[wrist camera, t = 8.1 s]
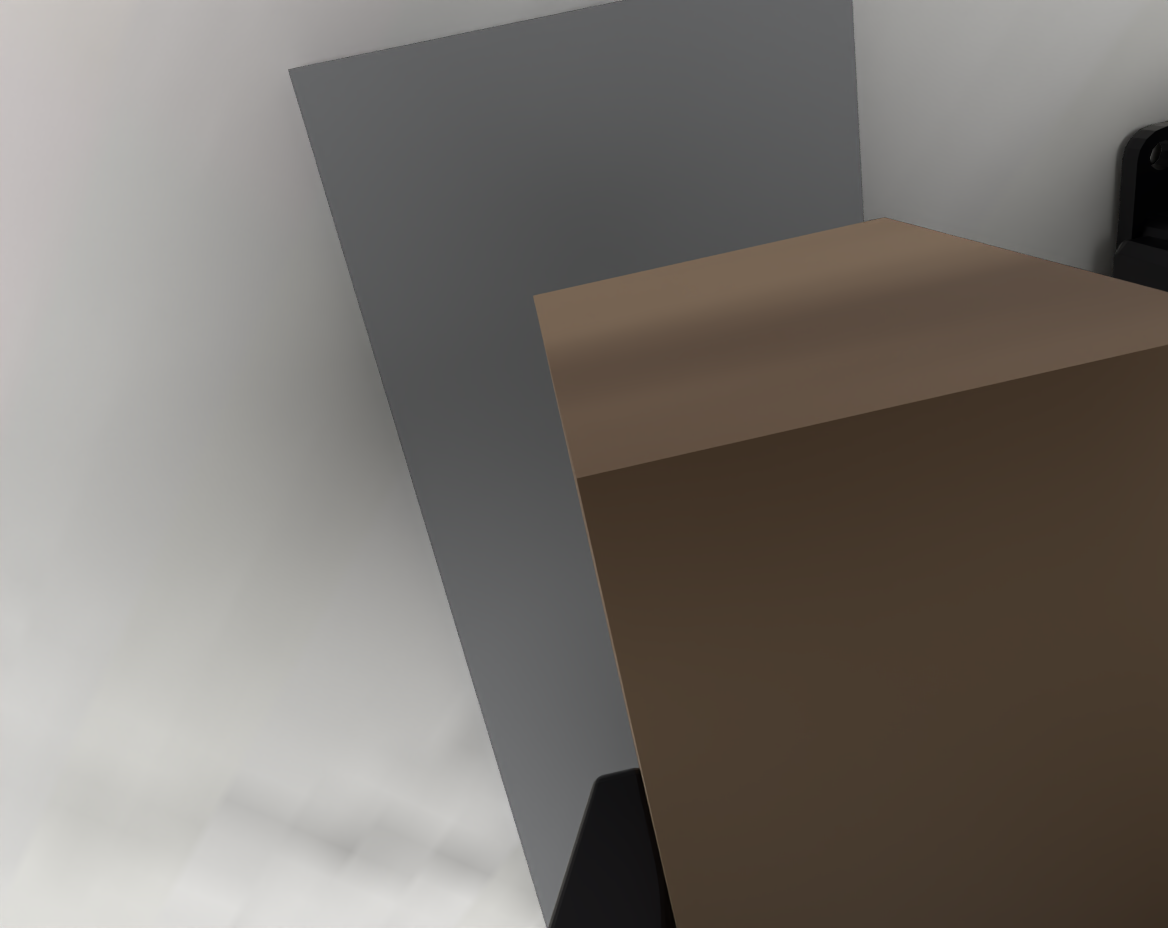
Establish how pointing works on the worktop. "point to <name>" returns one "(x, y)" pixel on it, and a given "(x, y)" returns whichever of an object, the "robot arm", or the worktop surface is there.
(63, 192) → the worktop surface
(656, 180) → the tool mat
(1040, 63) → the worktop surface
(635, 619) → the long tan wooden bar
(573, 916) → the robot arm
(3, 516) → the worktop surface
